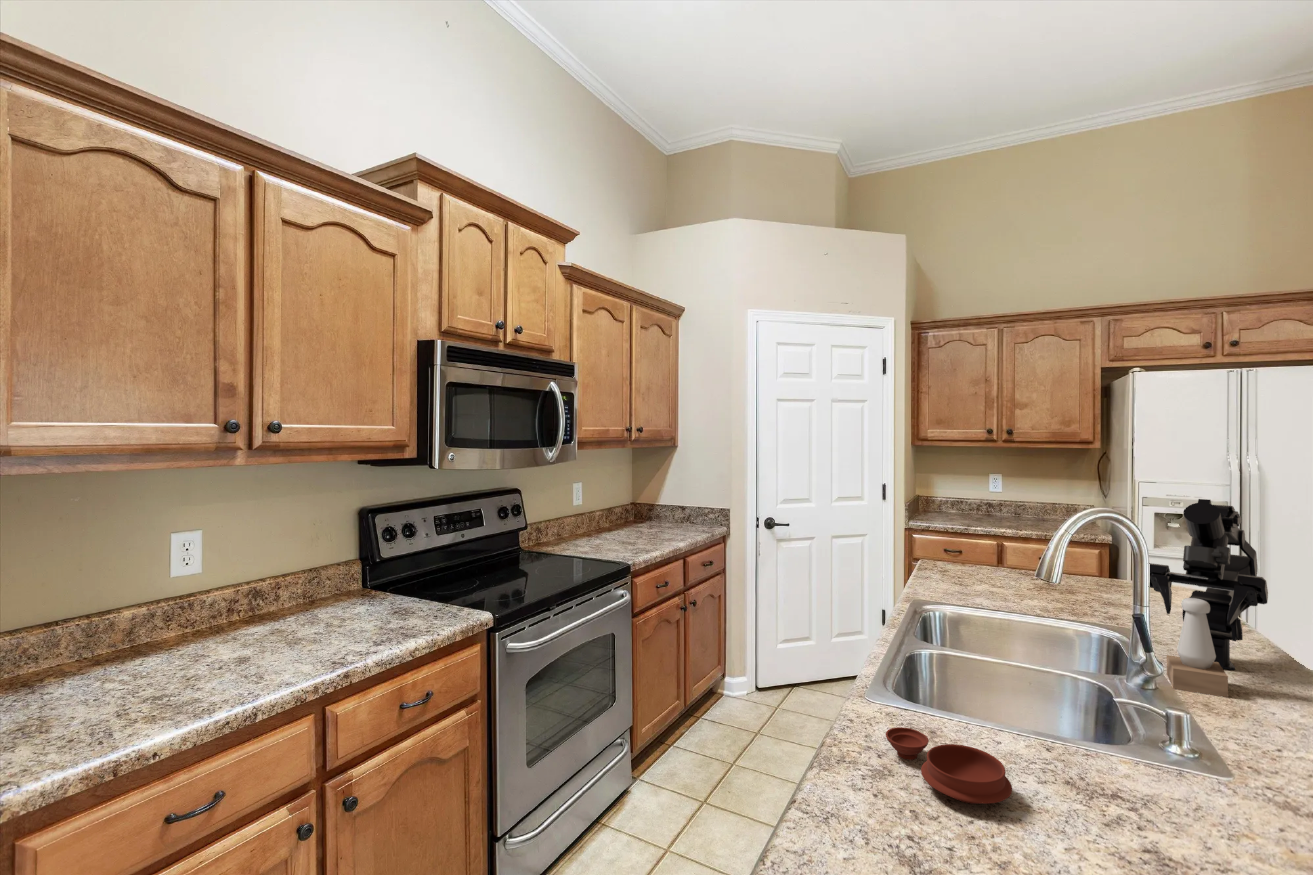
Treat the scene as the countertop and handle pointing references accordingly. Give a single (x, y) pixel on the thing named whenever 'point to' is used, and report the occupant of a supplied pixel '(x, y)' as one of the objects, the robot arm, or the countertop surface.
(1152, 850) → the countertop surface
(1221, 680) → the walnut plinth
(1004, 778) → the pottery
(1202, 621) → the salt shaker
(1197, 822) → the countertop surface
